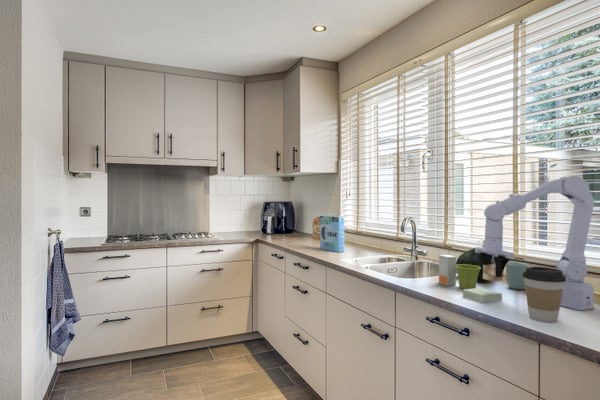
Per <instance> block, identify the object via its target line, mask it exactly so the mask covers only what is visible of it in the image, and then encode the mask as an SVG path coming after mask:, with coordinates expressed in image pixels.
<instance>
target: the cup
mask: <svg viewBox="0 0 600 400" xmlns="http://www.w3.org/2000/svg"><path fill="white" fill-rule="evenodd" d="M528 267H529V265H528V263H525V262H519V261H518V262H516V261H508V263H507V264H506V266H505V280H506V285H507V286H508V287H509V289H512V290H519V291H520V290H524V289H526V288H525V280H524V277H523V276H522V275H523V272H525V271H526V268H528Z"/></svg>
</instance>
